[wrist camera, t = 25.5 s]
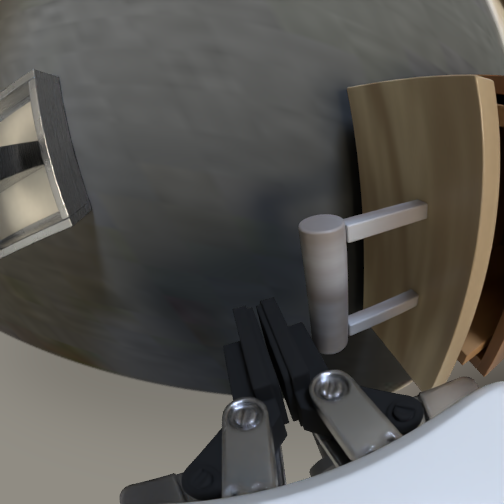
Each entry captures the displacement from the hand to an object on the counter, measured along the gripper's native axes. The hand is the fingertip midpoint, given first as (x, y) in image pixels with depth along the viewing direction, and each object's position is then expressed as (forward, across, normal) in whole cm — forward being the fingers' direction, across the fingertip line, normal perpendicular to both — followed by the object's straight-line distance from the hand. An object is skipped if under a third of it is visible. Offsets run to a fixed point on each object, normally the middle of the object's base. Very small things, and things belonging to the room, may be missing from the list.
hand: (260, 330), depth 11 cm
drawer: (+3, -12, -2) cm, 12 cm away
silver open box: (+4, +10, -10) cm, 14 cm away
